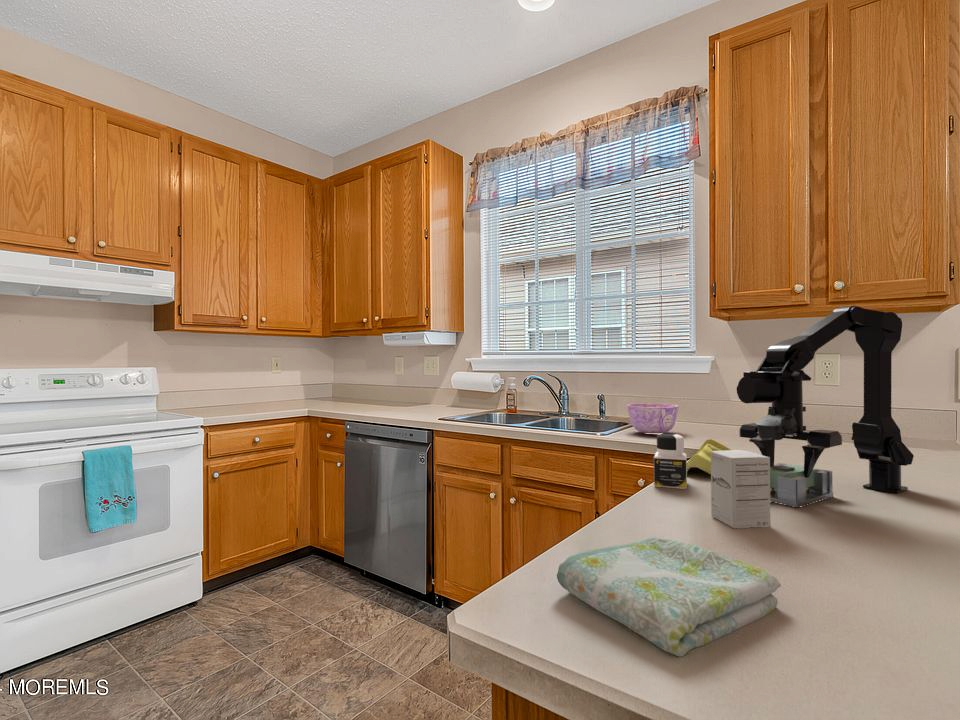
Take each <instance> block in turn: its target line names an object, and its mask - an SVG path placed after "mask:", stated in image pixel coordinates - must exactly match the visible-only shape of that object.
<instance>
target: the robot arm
mask: <svg viewBox="0 0 960 720" xmlns="http://www.w3.org/2000/svg"><path fill="white" fill-rule="evenodd" d="M902 330H903V320H902V318H901V317H899V316H898V315H897V313H895V312H893V311H882V310H881V311H880V310H875V309H869V308H865V307H861V306H857V305H850V306H849V305H848V306H841V307H837V308H835V309H834V310H832V312H831V313H830V314H828V315H826V316H825V317H824V318H822V319H821V320H820V321H818V322H816V323H815V324H813V325H812V326H810V327H809V328H808V329H806V330H805V331H803V332H802V333H800V334H799V335H797V336H794V337H791V338H788V339H786V340H781V341H779V342H777V343H774V344H772V345H770V346H769V347H768V348H767V350H766V355H765V356H764V358H763V360H762V361H761V363H760V364H759V366H758V368H757V369H756V370H755V371H753V370H752V371H749V370H748V371H747V370H746V371H743V377H742V378H740V380H739V381H738V384H737V386H736V395H737V397H738V399H739V400H740V402H742V403H743V404H766V403H767V404H768V403H769V404H770V403H771V406H768V409H767V411H768V412H767V415H766V416H764V417H762V418H760V420H759V421H758V422H756V423H754V422H752V423H745V424H742V425H741V426H740V427H739V430H738V431H739V437H740V438H747V439H748V441H749V442H750V443H753V444H754V445H755V446H756V447H757V448H758V450H759V451H760V453H761V454H760V455H763V456H767V457H770V467H773V466H774V465H775V450H776V449H775V448H776V447H775V446H776V441H781V440H783V439H789V440H796V441H797V440H798V441H806V442H807V445H802V446H801V448H802V451H803V453H804V455H803V456H804V459H803V462H804V463H803V467H804V476H805V478H808V477H809V476H810V474H811V472H812V470H813V468H814V467H815V465H816V464H817V462H818V460H819V458H820V456H821V454H822V453H823V452H824V451H825V450H826V449H829V448H834V447H838V446H841V445H843V438H842V437H843V436H842V435H841V433H840V432H839V431H838V430H830V429H829V430H828V429H815V430H814V429H813V430H809V431H807V425H804V412H806V411H807V410H806V409H807V408H806V406H803V405H804V403H803V401H804V400H803V382H805V381H807V382H808V381H809V382H811V380H812V377H811V376H810V375H808V374H807V373H805V371H804V368H806V366H808V365H809V364H810V362H811V361H813V359H814V358H815V355H816V352H817V351H818V350H819V349H820V348H822V347H824V346H825V345H827V344H828V343H830V341H832V340H834V339H835V338H837V337H838V336H839V335H841V334H842V333H844V332H846V331H849V332H851V333H854V338H855V342H856V344H857V345H858V346H859V348H860V349H861V351H862V352H863V415H862V417H860V419H859V421H858V422H852V423H851V424H852V425H851V428H852V436H851V438H850V439H851V441H853V447H854V448H855V449H856V453H857V454H858V458H859V459H860V460H868V479H869V480H868V481H869V482H868V483H866V484H862V488H863V489H869V490H877V491H881V492H887V493H888V492H889V493H893V494H898V493H901V492H904V491H907V490H908V489H909V487H908V486H905V485H904V486H903V485H902V466H905V467H906V466H909V465H912V463H913V461H914V458H915V455H914V454H913V452H911V451H910V449H909V448H908V447H907V446H906V444H904V443H903V439H902V435H901V434H902V433H901V428H900V427H899V425H898V424H897V423H896V421H895V420H894V419H893V417H892V355H893V354H892V352H894V349H895V348H896V347H897V346H898V343H899V342H900V341H901V336H902ZM814 469H815V468H814Z"/></svg>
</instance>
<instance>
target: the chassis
mask: <svg viewBox="0 0 960 720" xmlns="http://www.w3.org/2000/svg"><path fill="white" fill-rule="evenodd" d="M780 465H788V464H787V463H781V462H780V463H779V462H778V463H777V464H774V466H780ZM816 469H817V472H816V486H811V487H806V478H805V477H796V478H789V477H784V476H778V477H777V479H778V489H776V488H772V487H770V501H771V502H770V503H772V502H777V503H782V504H786V505H790V506H794V507H793V508H795V507H800V506H803V507H805V506H804V505H806V506H808V505H807V504H809V505H811V504H810V503H812V504H814V503H813V502H815V503H817V502H816V501H819V500H822V499H825V498H828V499H830V498H829V497H831V498H833V497H834V492H833V491H834V490H833V488H834V487H833V470H828V469H818V468H816ZM825 500H826V499H825ZM822 501H823V500H822ZM819 502H820V501H819ZM790 506H789V507H790ZM800 508H801V507H800Z"/></svg>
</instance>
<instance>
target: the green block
mask: <svg viewBox="0 0 960 720" xmlns="http://www.w3.org/2000/svg"><path fill="white" fill-rule="evenodd" d="M817 469H818V468H813V470H812V472H811V474H810V476H809V477H808V478H806V487H811V486H816V472H817ZM778 476H784V477H789V478H796V477H805V476H804V465H803V466H802V465H801V466H800V465H796V464H791V463H789V464H788V465H780V466H773V467H770V487H772V488H776V489H778V479H777V477H778Z"/></svg>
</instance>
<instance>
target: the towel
mask: <svg viewBox="0 0 960 720" xmlns="http://www.w3.org/2000/svg"><path fill="white" fill-rule="evenodd" d="M556 579H557V582H558V583H559V585H560V586H561V587H562V588H563V589H565V590H566V591H567V592H568V593H570V594H572V595H573V596H574V597H576V598H577V599H579V600H580V601H582V602H584V603H585V604H587V605H589V606H590V607H592V608H593V609H595V610H597V611H598V612H600V613H601V614H604V615H606V616H607V617H609V618H610V619H612V620H614V621H616V622H618V623H620V624H622V625H624V626H625V627H627V628H628V629H630V630H631V631H633V632H635V633H637V634H638V635H640V636H642V637H643V638H645V640H647V641H649V642H651V643H652V644H654V645H655V646H657V647H658V648H660V649H661V650H662V651H665V652H667V653H669V654H671V655H674V656H676V657H679V658H680V657H684V656H685V655H686V654H687V653H688V652H689V651H690V650H692V649H695V648H699V647H703V646H704V645H707V644H709V643H711V642H713V641H715V640H718V639H719V638H722V637H724V636H726V635H727V634H730V633H732V632H734V631H736V630H737V629H738V630H739V629H740V628H742V627H744V626H746V625H749V624H750V623H752V622H754V621H757V620H758V619H762V618H763V617H765V616H766V615H768V614H770V613H772V612H773V611H774V610H775V608H776V607H777V606H778V602H779V601H778V598H777V597H776V596H774V595H773V593H774V592H776V591H777V590H778V589H779V588H780V587H781V586H782V585H781V583H780V582H779V579H778V578H777V577H776V576H774V575H773V574H772V573H770V572H769V571H767V570H765V569H763V568H762V567H759V566H757V565H756V566H755V565H754V564H751V563H748V562H746V561H743V560H740V559H737V558H734V557H731V556H728V555H725V554H722V553H719V552H717V551H714V550H712V549H709V548H705V547H703V546H698V545H696V544H693V543H691V544H690V543H688V542H682V541H677V540H673V539H667V538H666V539H665V538H658V537H651V538H647V539H645V540H641V541H636V542H632V543H627V544H621V545H613V546H611V545H610V546H606V547H602V548H595V549H590V550H586V551H582V552H579V553H576V554H573V555H570V556H568V557H567V558H566V559H565V560H564V561H563V562H561V563H560V564H559V566H558V569H557V573H556Z"/></svg>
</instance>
